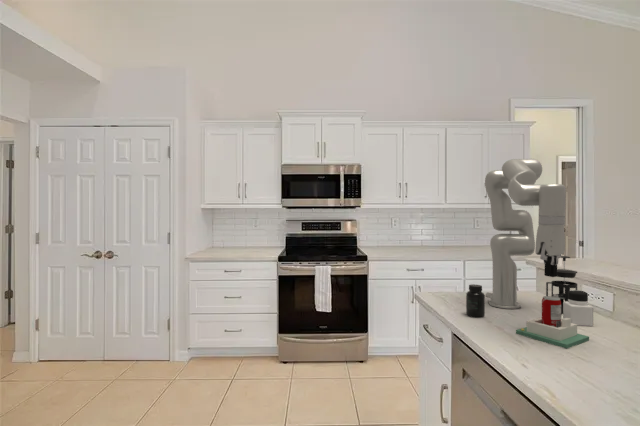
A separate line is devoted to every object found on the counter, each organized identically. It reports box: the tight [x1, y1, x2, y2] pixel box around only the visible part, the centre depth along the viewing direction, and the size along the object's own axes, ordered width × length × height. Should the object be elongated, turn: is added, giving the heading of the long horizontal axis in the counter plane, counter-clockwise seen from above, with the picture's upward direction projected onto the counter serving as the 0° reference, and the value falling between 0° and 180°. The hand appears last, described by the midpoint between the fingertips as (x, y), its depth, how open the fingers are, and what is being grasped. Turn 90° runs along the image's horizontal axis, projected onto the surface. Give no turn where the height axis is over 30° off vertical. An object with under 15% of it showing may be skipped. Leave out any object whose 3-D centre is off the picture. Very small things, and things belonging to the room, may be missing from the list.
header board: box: [515, 316, 590, 349], centre depth 122 cm, size 16×14×7 cm
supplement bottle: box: [465, 283, 486, 319], centre depth 147 cm, size 7×7×12 cm
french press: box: [545, 255, 578, 315], centre depth 152 cm, size 12×9×23 cm
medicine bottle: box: [562, 289, 594, 327], centre depth 137 cm, size 7×7×12 cm
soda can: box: [541, 295, 562, 328], centre depth 122 cm, size 6×6×12 cm
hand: (550, 276), depth 122 cm, fingers closed
